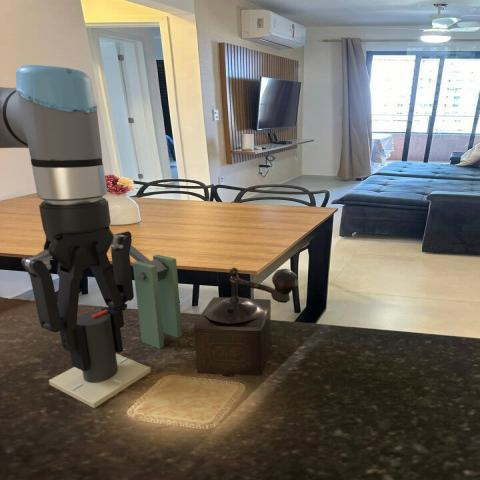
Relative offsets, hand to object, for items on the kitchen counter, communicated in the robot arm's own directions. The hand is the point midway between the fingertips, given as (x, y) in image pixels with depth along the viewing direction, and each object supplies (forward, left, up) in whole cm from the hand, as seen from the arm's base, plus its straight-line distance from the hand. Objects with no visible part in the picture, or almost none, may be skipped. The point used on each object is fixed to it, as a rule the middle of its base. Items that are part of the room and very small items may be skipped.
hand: (98, 357), depth 55 cm
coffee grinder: (+16, +15, -5) cm, 22 cm away
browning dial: (0, 0, -3) cm, 3 cm away
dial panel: (0, 0, -5) cm, 5 cm away
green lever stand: (-1, +12, -5) cm, 13 cm away
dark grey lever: (-6, +12, +10) cm, 17 cm away
